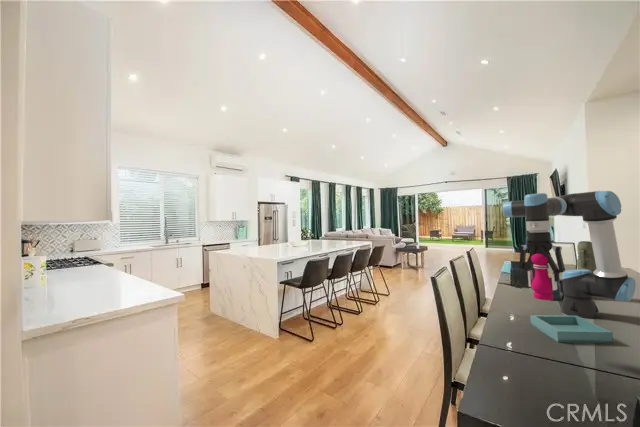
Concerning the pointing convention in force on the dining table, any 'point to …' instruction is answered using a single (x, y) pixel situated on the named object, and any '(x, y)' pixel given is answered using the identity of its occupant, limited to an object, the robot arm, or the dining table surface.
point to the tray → (571, 329)
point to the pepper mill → (541, 278)
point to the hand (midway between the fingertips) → (542, 287)
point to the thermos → (586, 257)
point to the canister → (556, 292)
